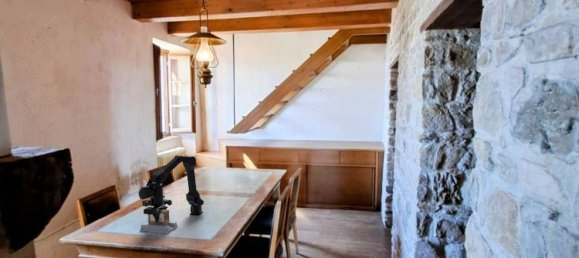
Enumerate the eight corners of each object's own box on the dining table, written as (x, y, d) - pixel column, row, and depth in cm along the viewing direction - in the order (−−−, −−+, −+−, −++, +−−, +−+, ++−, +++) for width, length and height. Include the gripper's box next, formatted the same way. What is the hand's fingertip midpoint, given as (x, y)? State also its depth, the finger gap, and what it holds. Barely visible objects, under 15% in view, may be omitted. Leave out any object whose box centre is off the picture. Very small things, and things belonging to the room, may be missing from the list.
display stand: (177, 226, 188) (177, 221, 188) (167, 233, 178) (167, 228, 178) (151, 224, 192) (151, 218, 192) (140, 230, 183) (139, 225, 182)
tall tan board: (169, 224, 185) (168, 210, 184) (166, 226, 182) (165, 211, 182) (151, 223, 188) (151, 208, 187) (148, 225, 185) (147, 210, 184)
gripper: (156, 189, 195) (157, 214, 196) (134, 198, 177) (135, 225, 178) (172, 190, 192) (173, 215, 193) (151, 200, 174) (152, 227, 175)
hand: (158, 220), depth 185 cm, fingers closed on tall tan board, 3 cm apart
